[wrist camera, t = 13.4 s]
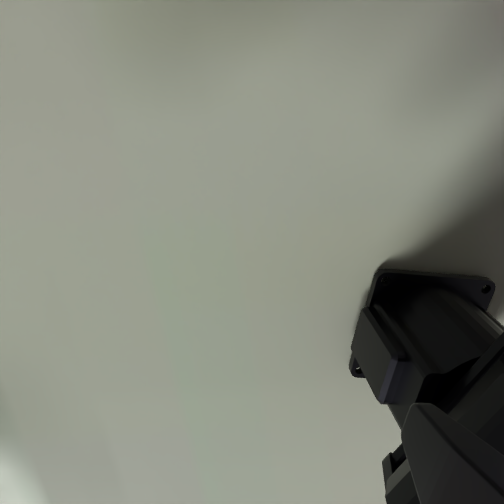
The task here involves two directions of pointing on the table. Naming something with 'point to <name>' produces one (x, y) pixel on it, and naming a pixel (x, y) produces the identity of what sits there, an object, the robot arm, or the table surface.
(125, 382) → the table surface
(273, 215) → the table surface
